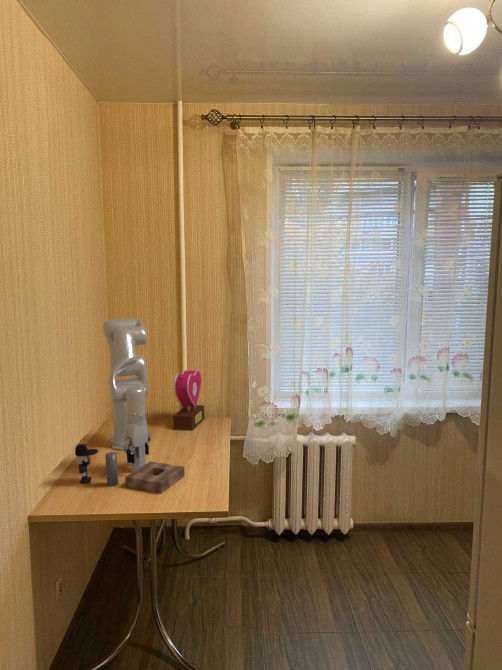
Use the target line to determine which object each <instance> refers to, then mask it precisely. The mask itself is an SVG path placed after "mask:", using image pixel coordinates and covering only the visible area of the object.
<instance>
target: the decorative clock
mask: <svg viewBox="0 0 502 670" xmlns="http://www.w3.org/2000/svg"><path fill="white" fill-rule="evenodd" d="M201 387H202V376H201V372H200V370H198V369H197V370H187V369H185V370H183V371H182V373H181V374H180V373H177V374H176V375H175V378H174V385H173V389H174V390H173V391H174V394H175V398H176V399H177V401H178V403H179V404H180V406H181V409H180V410H179V411H177V412H175V414H173V415H172V417H173V418H172V423H173V429H172V430H173V431H174V430H175V431H189V432H190V431H194V429H195V428H197V427H198V426H199V425H200V424H201V423H202V422H203V421H204V420H205V419H206V418H205V405H204V404H202V405H201V404H199V405H198V402H199V401H198V400H199V396H200V392H201Z"/></svg>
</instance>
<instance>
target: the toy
mask: <svg viewBox="0 0 502 670" xmlns="http://www.w3.org/2000/svg"><path fill="white" fill-rule="evenodd" d="M98 453H99V449H97V448H89V445H87V444H86V443H80V444H77V445H76V446H75V450H74V455H75V456H76V461H77V462H76V463H77V465H78V474H79V476H80V477H81V478H80V479H79V483H80V484H89V483H91V481H92V476H88V470H89V467H88V466H89V465H90V463H91V456H94V455H96V454H98Z"/></svg>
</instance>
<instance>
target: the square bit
mask: <svg viewBox="0 0 502 670" xmlns="http://www.w3.org/2000/svg"><path fill="white" fill-rule="evenodd" d="M131 446H133V445H131ZM131 449H132V448H131ZM131 449H130V450H131ZM133 453H134V459H135V463H131V471H132V470H133V471H132V472H134V471H135V470H137V469H138V468H140V467H142V466H143V465H145V464H147V461H146V460H147V459H146V455H145V443H143V444H142V445H140V446H138V447H136V448H135V449H134V452H133Z"/></svg>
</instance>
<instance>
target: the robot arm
mask: <svg viewBox="0 0 502 670" xmlns="http://www.w3.org/2000/svg"><path fill="white" fill-rule="evenodd" d="M102 329H103V334H104V338H105V339H106V342H107V344H108V346H109V356H110V367H111V371H110V372H109V373H110V374H109V375H108V376H109V377H108V385H109V395H110V399H111V404H112V415H113V416H112V417H113V418H112V419H113V434H110V435H109V437H108V440H109V441H112V443H111V448H112V449H114V450H119V451H122V450H123V451H124V452H125V454H126V462H127V464H132V463H135V459H134V453H133V452H134V449H135V448H136V447H138V446H140V445H142V444H143V443H145V456H149V455H150V441H151V437H152V432H150V431H149V427H148V423H147V417H146V416H147V415H146V414H147V412H146V397H147V396H148V395H149V380H148V379H149V378H148V369H147V362H146V358H145V357H144V356H143V355H142V354H137V350H136V346H145V345H146V344H147V343H148V339H149V335H148V331H147V328H146V326H145V324H144V322H143V321H142V319H141V318H139V317H129V318H128V317H127V318H111V319H107V320H105V321H103V324H102ZM129 376H136V377H133V378H122V379H117V377H129ZM131 445H133V446H131ZM131 448H132V449H131Z"/></svg>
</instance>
